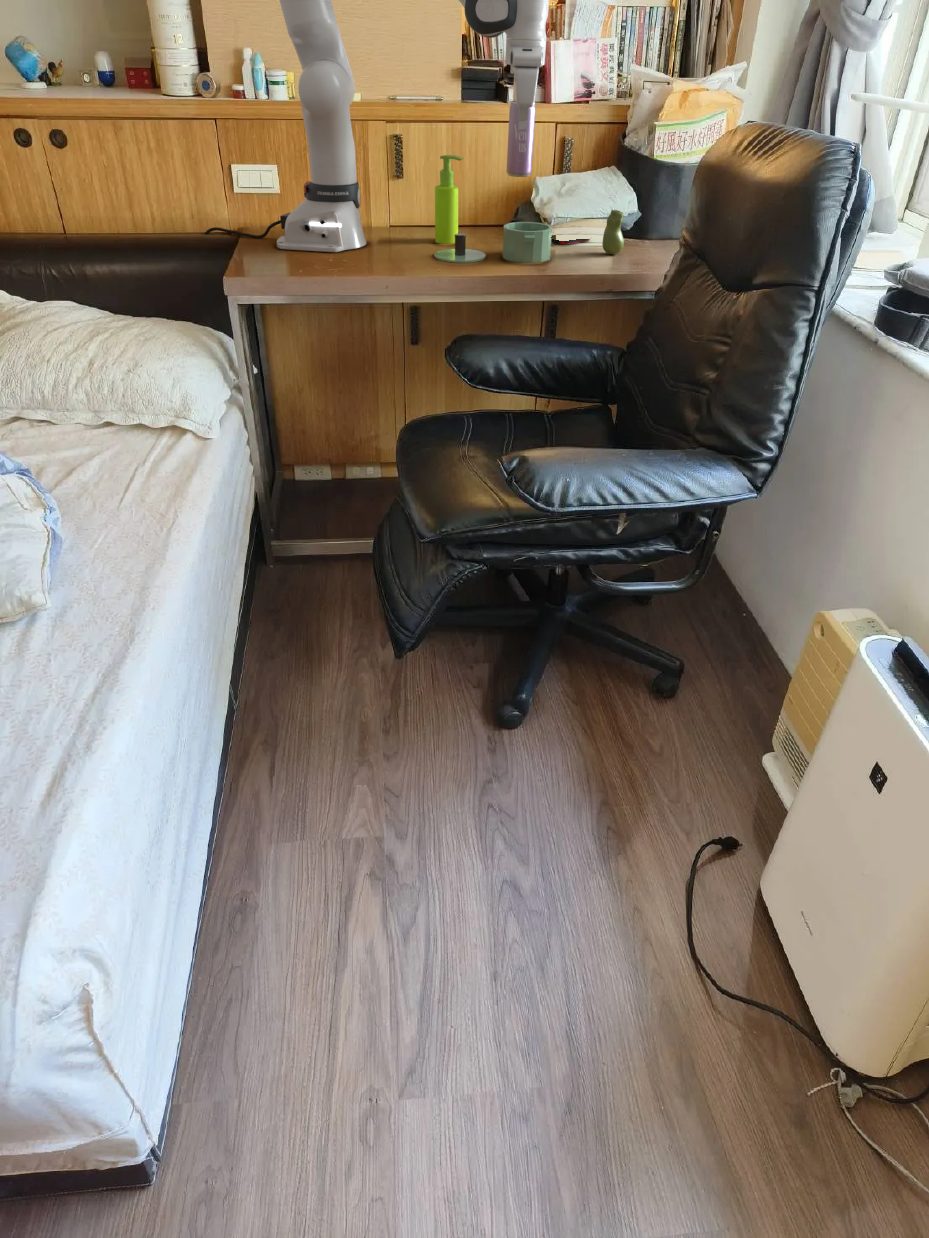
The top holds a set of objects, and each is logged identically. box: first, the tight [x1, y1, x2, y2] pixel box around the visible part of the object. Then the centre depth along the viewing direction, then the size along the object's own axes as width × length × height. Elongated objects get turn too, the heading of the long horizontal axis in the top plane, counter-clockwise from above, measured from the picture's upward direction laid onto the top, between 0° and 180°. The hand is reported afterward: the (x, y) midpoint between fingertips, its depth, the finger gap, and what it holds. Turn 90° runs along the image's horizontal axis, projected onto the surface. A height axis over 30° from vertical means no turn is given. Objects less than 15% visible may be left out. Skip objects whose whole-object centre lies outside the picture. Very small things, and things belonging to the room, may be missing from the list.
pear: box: [601, 209, 625, 255], centre depth 203 cm, size 6×5×10 cm
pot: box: [501, 221, 553, 264], centre depth 198 cm, size 11×17×7 cm
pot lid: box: [433, 232, 487, 264], centre depth 197 cm, size 12×12×6 cm
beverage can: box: [505, 100, 537, 178], centre depth 193 cm, size 6×6×15 cm
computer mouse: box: [551, 238, 591, 246], centre depth 216 cm, size 6×11×4 cm, turn 122°
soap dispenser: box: [434, 154, 464, 245], centre depth 207 cm, size 6×7×20 cm
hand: (521, 127), depth 191 cm, fingers closed on beverage can, 6 cm apart
